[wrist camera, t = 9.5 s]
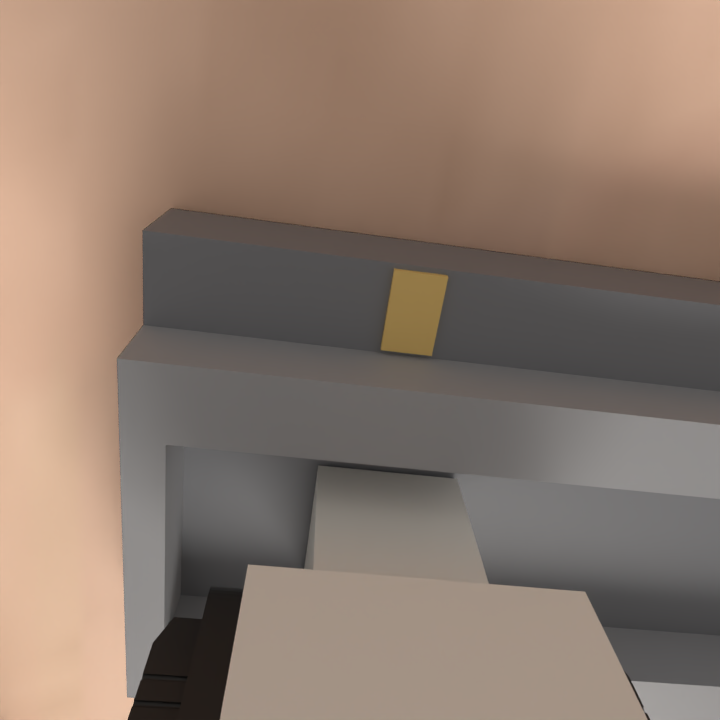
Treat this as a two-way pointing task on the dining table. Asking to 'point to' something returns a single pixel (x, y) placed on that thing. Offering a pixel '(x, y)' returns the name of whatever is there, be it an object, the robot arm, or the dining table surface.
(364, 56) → the dining table surface
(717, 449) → the fader console
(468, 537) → the fader knob
